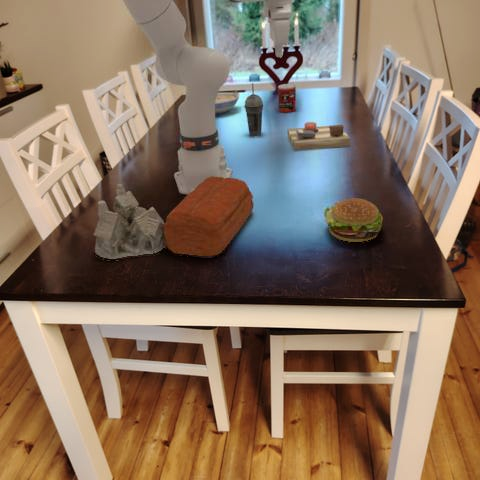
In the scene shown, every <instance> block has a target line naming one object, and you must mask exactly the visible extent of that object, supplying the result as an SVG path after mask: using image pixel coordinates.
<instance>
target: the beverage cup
mask: <svg viewBox="0 0 480 480" xmlns="http://www.w3.org/2000/svg"><path fill="white" fill-rule="evenodd" d="M251 89H252V92H251V93H252V94H250V95H248V96H247V97H246V99H245V101H244V109H245V110H244V111H245V112H246V119H247V125H248V126H247V127H248V132H249V136H250V137H252V136H253V138H254V137H255V136H257V137H261V135H262V122H263V121H262V119H263V109H264V101H263V100H262V97H260V96H259V95H258V94H255V91H254V83H253V82H252V83H251Z"/></svg>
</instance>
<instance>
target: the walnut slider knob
mask: <svg viewBox="0 0 480 480" xmlns="http://www.w3.org/2000/svg"><path fill="white" fill-rule="evenodd" d="M329 126H330V135H331V136H332V135H343V130H344V128H345V127H344V125H343V124H335V125H334V124H332V125H329Z"/></svg>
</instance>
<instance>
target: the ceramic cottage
mask: <svg viewBox="0 0 480 480" xmlns="http://www.w3.org/2000/svg"><path fill="white" fill-rule="evenodd" d="M116 185H117V187H116V188H117V189H116V191H115V192H116V197H114V201H113V205H112V206H113V207H112V209H113V210H114V212H113V211H110V210H109V208H108V205H107V202H106V201H105V200H100V201H98V202H97V216H98V221H97V224H96V227H95V230H94V233H93V236H94V237H96V239H95V247H94V253H96V254H97V255H99V256H100V257H103V258H108V259H117V258H122V257H127V256H138V255H143V254H153V253H157V252H159V251H161V250H162V249H163V248H165V249H167V248H166V243H165V234H164V225H165V221H164V220H163V219H162V217H161V216H160V214H159V213H158V212H157V210H156V209H155V208H154V206H152V207H150V208H149V209H148V210H147V209H146V208H144V207H140V203H139V202H138V201H137V199H136V198H135V196H134V194H133V193H132V192H131V191H130V190H128V191H126V189H125V188H124V186H123V184H122V183H118V184H116Z"/></svg>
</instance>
